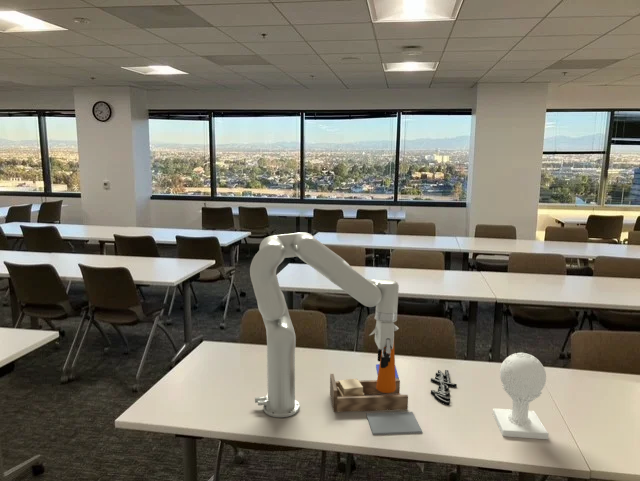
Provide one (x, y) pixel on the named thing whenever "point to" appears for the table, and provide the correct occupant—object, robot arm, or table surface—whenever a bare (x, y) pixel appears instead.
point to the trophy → (521, 396)
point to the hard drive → (395, 371)
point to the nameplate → (442, 387)
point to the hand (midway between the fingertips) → (383, 363)
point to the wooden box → (367, 398)
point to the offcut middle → (346, 395)
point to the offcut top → (350, 387)
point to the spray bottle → (387, 371)
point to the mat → (393, 423)
